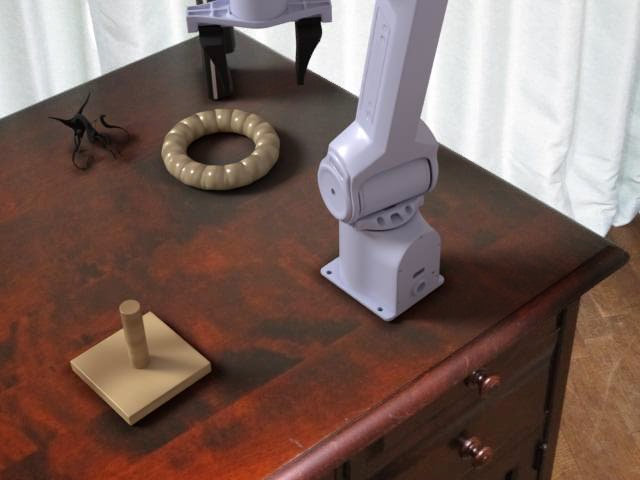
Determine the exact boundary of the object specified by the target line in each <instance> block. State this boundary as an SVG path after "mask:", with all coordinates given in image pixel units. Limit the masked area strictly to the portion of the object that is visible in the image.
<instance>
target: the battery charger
mask: <svg viewBox="0 0 640 480" xmlns="http://www.w3.org/2000/svg"><path fill="white" fill-rule="evenodd" d="M212 1H216V0H195V5H201V4H205V3H209V2H212ZM223 32H224V43H225V53H226V55H229V54H233V53H234V52H235V50H236V49H235V48H237V47H236V46H237V45H236V35H235V27H233V26H229V27H223ZM199 46H200V55H201V64H202V71H203V78H204V83H205V89H206V93H207V98H208V99H209V100H218V99H224V98H227V97H230V96H232V95H233V94H234V84H233V79H232V74H231V70H230V66H228V69H229V78H230V90H231V91H224V88H223V84H222V81H221V78H220V76H219V74H218V72H217V70H216V68H215V66H214V64H213V62H212V61H211V59H210V58H209V56H208V55H207V54H206V53H205V51H204V50H203V49H202V47H201V45H199Z"/></svg>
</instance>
